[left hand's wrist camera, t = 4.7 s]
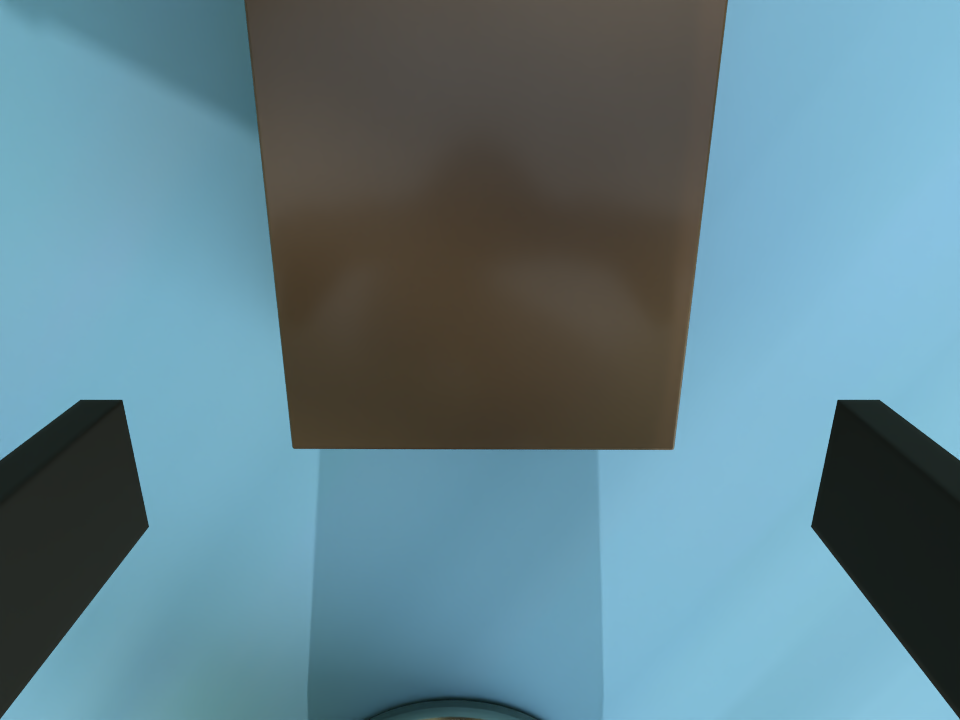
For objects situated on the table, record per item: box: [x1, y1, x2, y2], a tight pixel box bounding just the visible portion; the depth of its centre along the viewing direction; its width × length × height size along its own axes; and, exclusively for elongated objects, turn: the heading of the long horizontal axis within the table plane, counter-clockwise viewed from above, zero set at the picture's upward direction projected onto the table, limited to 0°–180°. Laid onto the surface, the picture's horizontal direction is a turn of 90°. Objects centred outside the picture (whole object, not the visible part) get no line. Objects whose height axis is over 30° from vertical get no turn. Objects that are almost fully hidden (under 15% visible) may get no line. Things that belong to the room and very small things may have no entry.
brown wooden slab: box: [244, 0, 728, 450], centre depth 20 cm, size 20×11×8 cm, turn 0°
